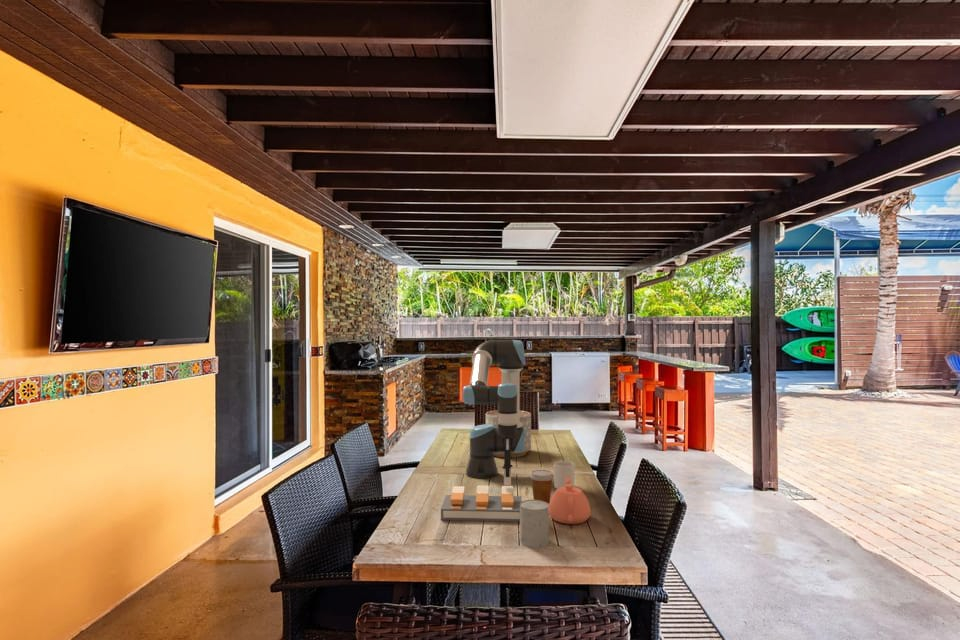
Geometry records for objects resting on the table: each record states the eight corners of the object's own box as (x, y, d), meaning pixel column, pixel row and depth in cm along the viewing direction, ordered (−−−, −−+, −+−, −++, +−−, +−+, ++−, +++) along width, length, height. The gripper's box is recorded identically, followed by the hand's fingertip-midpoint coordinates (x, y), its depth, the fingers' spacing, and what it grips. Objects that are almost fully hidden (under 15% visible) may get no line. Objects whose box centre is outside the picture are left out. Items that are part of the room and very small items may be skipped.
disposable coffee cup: (555, 499, 215) (555, 470, 215) (550, 507, 206) (550, 476, 206) (532, 497, 218) (532, 468, 218) (527, 504, 209) (527, 474, 209)
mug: (574, 492, 224) (574, 466, 225) (553, 491, 226) (553, 465, 226) (575, 484, 236) (575, 459, 236) (555, 483, 238) (555, 458, 238)
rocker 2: (477, 489, 205) (477, 485, 205) (488, 490, 205) (488, 485, 204) (475, 506, 196) (475, 501, 195) (487, 506, 195) (487, 501, 195)
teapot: (547, 506, 207) (547, 475, 207) (588, 508, 205) (587, 476, 205) (548, 528, 185) (548, 492, 185) (593, 530, 183) (593, 494, 184)
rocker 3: (501, 490, 205) (501, 485, 204) (513, 490, 204) (513, 486, 204) (501, 506, 195) (501, 502, 194) (513, 506, 195) (513, 502, 194)
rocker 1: (453, 491, 206) (453, 486, 205) (464, 491, 205) (464, 486, 205) (450, 504, 196) (450, 499, 195) (462, 504, 196) (462, 499, 195)
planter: (532, 458, 281) (532, 417, 281) (485, 458, 281) (485, 417, 282) (529, 447, 307) (529, 409, 307) (485, 447, 307) (485, 409, 307)
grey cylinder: (517, 536, 178) (517, 500, 178) (545, 535, 179) (545, 499, 179) (522, 548, 168) (522, 509, 168) (551, 547, 169) (551, 509, 169)
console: (445, 505, 209) (445, 491, 209) (521, 506, 207) (521, 493, 207) (440, 520, 192) (440, 505, 192) (522, 521, 191) (522, 507, 191)
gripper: (498, 420, 210) (498, 479, 210) (497, 426, 197) (497, 489, 197) (516, 420, 210) (516, 479, 209) (517, 427, 196) (517, 490, 196)
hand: (507, 484), depth 203 cm, fingers closed
